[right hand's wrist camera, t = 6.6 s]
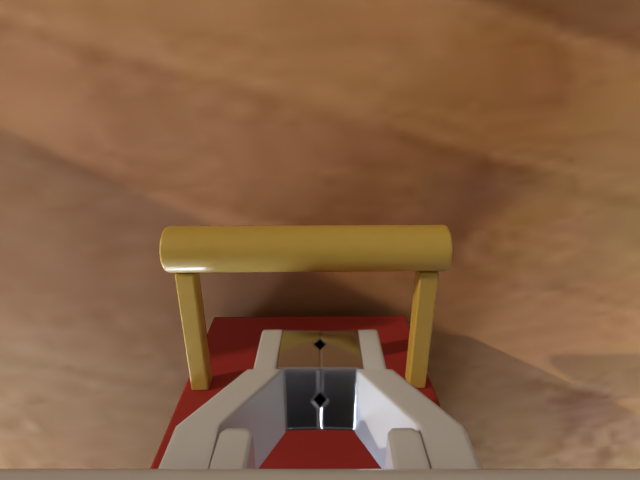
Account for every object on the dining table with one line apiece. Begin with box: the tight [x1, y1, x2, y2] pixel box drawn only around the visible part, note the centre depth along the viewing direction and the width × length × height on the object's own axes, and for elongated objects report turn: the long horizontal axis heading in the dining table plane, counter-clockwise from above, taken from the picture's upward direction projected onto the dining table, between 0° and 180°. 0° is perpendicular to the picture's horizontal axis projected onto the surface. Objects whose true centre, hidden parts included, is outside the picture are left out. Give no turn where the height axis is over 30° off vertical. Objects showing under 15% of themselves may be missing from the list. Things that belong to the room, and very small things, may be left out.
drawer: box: [150, 225, 453, 469], centre depth 16 cm, size 20×9×8 cm, turn 0°
